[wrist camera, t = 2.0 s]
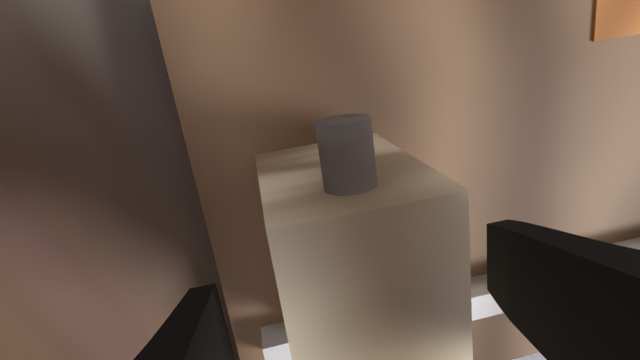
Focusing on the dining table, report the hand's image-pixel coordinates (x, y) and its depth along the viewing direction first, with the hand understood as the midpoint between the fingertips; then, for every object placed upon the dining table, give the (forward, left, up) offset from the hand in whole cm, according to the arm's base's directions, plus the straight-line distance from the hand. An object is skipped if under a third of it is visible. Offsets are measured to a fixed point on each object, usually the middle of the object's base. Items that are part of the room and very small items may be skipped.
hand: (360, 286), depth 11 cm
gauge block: (0, 0, -4) cm, 4 cm away
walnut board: (+7, 0, -6) cm, 9 cm away
